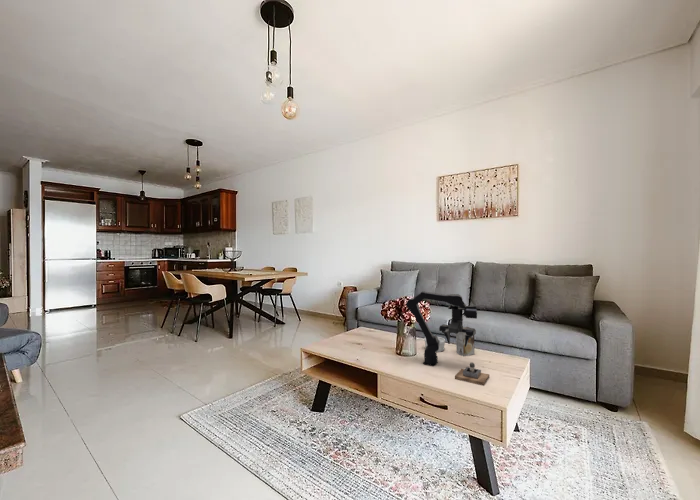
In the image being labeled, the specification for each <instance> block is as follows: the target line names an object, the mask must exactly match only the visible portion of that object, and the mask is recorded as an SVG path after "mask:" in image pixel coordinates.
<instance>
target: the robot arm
mask: <svg viewBox="0 0 700 500" xmlns="http://www.w3.org/2000/svg"><path fill="white" fill-rule="evenodd" d="M463 299H464V298H463V296H462V295H461V294H459V293H454V294H453V293H452V294H451V293H450V294H443V293H437V292H430V291H429V292H428V291H421V292H420V293H419V294H417V295H416V296H415V297H411V298H409V299H408V300H407V301H406V303H405V304H406V305H405V306H406V308H407V309H408V310H409V312H410V313H411V314H412V315H413V316H414V317H415V318H414V319H415V320H416V322H417V324H418V325H419V327H420V330H421V331H422V333H423V335H424V338H425V337H426V341H427V346H426V347H425V349H424V353H423V355H424V358H423V359H424V360H423V364H424V365H426V366H427V365H428V366H432V367H435V366H436V365H437V364H438V362H439V360H438V355H437V353H438V352H436V351H438V349H439V345H440V344H439V342H440V341H439V340H438V338H437V337H438V335H437V334H435V335H434V334H433V333H432V331H431V328H430V327H429V325H428V324H427V322H426V320H425V318H424V316H423V315H422V313H421V310H420V309H421V308H420V306H419V303H420V302H422V301H423V300H431V301H437V302H438V301H439V302H444V303H447V304H450V305H449V306H448V310H451V319H450V323H449V324H443V323H442V324H441V325H439V327H438V328H439V329H438V330H439V332H441V333H443V334H444V335H445V339H446V342H447V344H448V345H450V343H451V334H455V335H456V334H457V333H458V332H464V333H466V335H465V347H466V346H467V343H468V341H469V338H470V337H471V336H474V337H475V335H476V334H477V330H476V329H475V328H472V327H469V328H467V329H463V327H464V325H463V324H464V322H463V321H464V317H465V318H466V319H478V312H477V311H478V310H477V305H466V303H465V302H464V300H463Z"/></svg>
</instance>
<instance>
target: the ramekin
mask: <svg viewBox="0 0 700 500" xmlns="http://www.w3.org/2000/svg"><path fill="white" fill-rule="evenodd" d="M437 338H438V340H439V341H440V342H439V344H440V345H439V349H438V351H436V352H435V353H441V352H443V351H444V349H445V345H446V338H444V337H442V336H437ZM423 341H424V347H425V348H426V346H427V341H426V337H425V336H424V338H423Z"/></svg>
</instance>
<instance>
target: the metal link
mask: <svg viewBox="0 0 700 500" xmlns="http://www.w3.org/2000/svg"><path fill="white" fill-rule="evenodd" d="M464 369H465V370H464V371H463V376H465V377H470V378H475V379H478V378H479V376H480V375H481V373H482V369H479V368H474V373H473V372H470V366H469V367H468V366H466V367H465V368H464Z"/></svg>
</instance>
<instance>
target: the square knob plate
mask: <svg viewBox="0 0 700 500" xmlns="http://www.w3.org/2000/svg"><path fill="white" fill-rule="evenodd" d="M475 364H476V363H474V362H470V363H469V364H468V365H469V368H470V372H473V373H474V369H475V367H476V365H475ZM464 370H465V368H461V369H460V370H459V371H457V373H456V374H455V375H454V380H457V381H462V382H466V383H471V384H475V385H480V386H485V385H486V384H487V382H488V380H489V379H490V374H489V373H486V372H485V373H484V372H481V375H480V376H479V378H478V379H475V378H470V377H465V376H463V371H464Z"/></svg>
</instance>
